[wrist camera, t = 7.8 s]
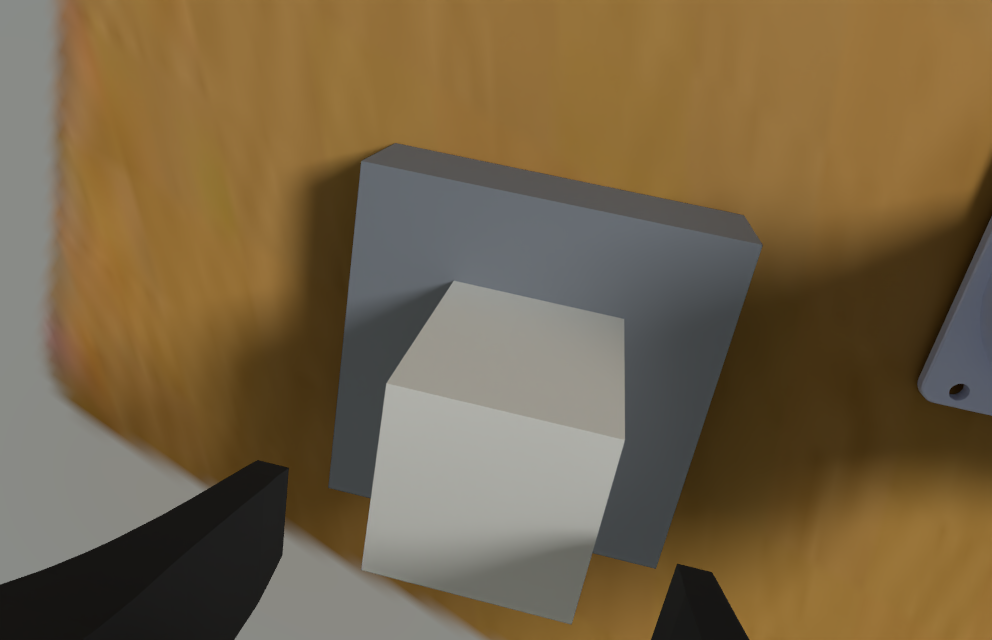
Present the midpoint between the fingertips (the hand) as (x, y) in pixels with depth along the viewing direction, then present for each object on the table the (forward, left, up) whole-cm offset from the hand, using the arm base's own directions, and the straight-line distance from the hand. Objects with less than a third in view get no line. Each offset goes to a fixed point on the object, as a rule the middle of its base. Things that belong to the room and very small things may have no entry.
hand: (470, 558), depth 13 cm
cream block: (0, 0, -7) cm, 7 cm away
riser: (0, 0, -10) cm, 10 cm away
